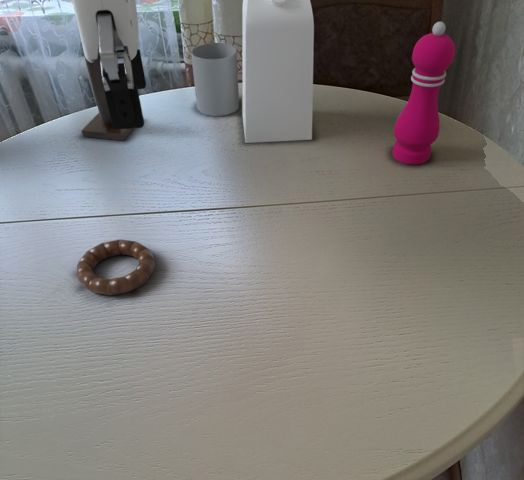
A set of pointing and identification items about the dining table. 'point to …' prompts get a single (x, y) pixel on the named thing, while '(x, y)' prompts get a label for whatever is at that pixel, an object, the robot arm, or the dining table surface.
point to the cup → (216, 78)
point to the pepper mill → (423, 98)
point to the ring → (121, 283)
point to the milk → (277, 70)
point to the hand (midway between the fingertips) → (131, 106)
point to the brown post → (101, 109)
